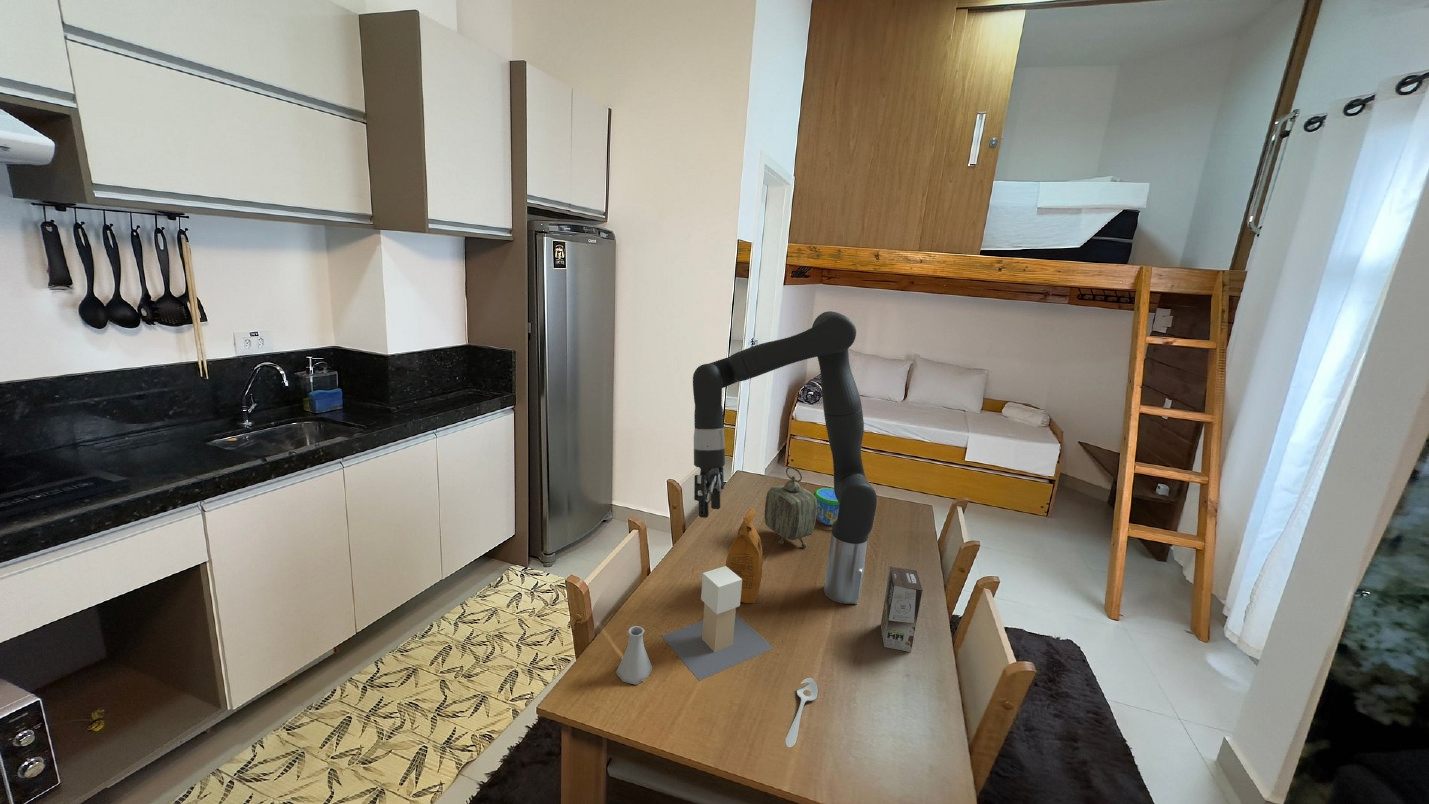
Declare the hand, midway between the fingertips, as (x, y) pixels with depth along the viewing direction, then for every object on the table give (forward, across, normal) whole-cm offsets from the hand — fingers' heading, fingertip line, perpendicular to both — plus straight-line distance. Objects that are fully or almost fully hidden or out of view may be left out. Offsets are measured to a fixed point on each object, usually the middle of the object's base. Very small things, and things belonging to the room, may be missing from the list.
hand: (710, 512), depth 135 cm
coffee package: (+24, +12, -4) cm, 27 cm away
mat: (+27, -10, -5) cm, 29 cm away
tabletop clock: (+20, +44, -9) cm, 49 cm away
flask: (+28, -25, +8) cm, 39 cm away
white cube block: (+17, -11, -6) cm, 21 cm away
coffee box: (+30, +11, -43) cm, 53 cm away
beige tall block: (+27, -10, -5) cm, 29 cm away
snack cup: (+18, +65, -19) cm, 70 cm away
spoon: (+33, -22, -26) cm, 47 cm away
